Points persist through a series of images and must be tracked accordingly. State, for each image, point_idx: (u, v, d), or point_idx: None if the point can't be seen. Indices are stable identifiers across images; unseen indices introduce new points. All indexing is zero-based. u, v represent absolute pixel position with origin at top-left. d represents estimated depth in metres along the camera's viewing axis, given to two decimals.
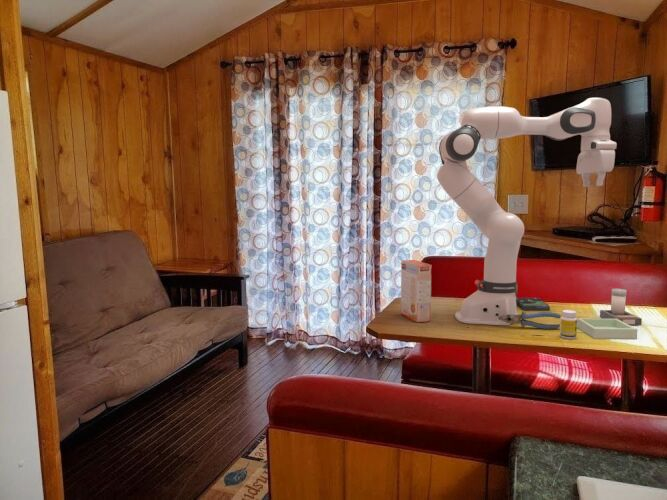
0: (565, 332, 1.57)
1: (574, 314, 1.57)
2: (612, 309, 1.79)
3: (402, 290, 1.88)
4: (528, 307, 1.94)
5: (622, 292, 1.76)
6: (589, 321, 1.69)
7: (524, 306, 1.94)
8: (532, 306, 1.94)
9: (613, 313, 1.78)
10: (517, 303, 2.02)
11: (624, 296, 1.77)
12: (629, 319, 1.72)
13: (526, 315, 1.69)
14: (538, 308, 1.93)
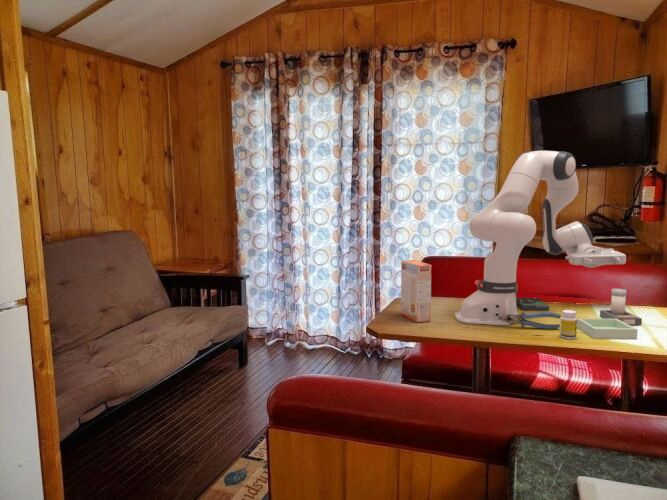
0: (565, 332, 1.57)
1: (574, 314, 1.57)
2: (612, 309, 1.79)
3: (402, 290, 1.88)
4: (527, 307, 1.94)
5: (622, 292, 1.76)
6: (589, 321, 1.69)
7: (523, 306, 1.94)
8: (531, 306, 1.94)
9: (613, 313, 1.78)
10: (517, 303, 2.02)
11: (624, 296, 1.77)
12: (629, 319, 1.72)
13: (526, 315, 1.69)
14: (537, 308, 1.93)
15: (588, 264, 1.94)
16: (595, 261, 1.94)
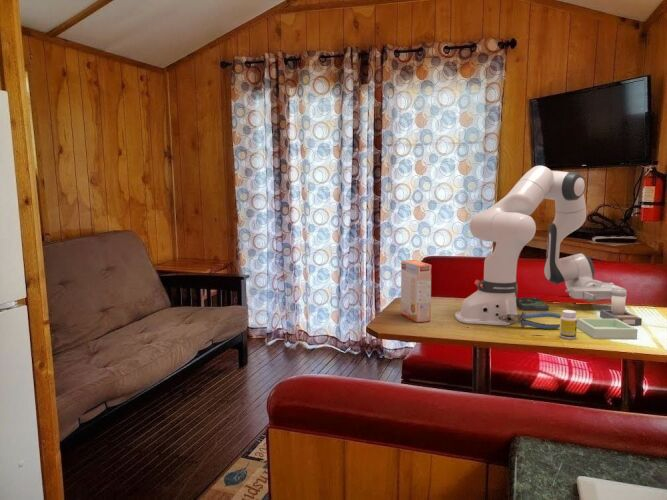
0: (565, 332, 1.57)
1: (574, 314, 1.57)
2: (612, 309, 1.79)
3: (402, 290, 1.88)
4: (526, 307, 1.94)
5: (622, 292, 1.76)
6: (589, 321, 1.69)
7: (523, 306, 1.94)
8: (531, 306, 1.94)
9: (613, 313, 1.78)
10: (516, 303, 2.02)
11: (624, 296, 1.77)
12: (629, 319, 1.72)
13: (526, 315, 1.69)
14: (536, 308, 1.94)
15: None
16: (596, 295, 1.93)
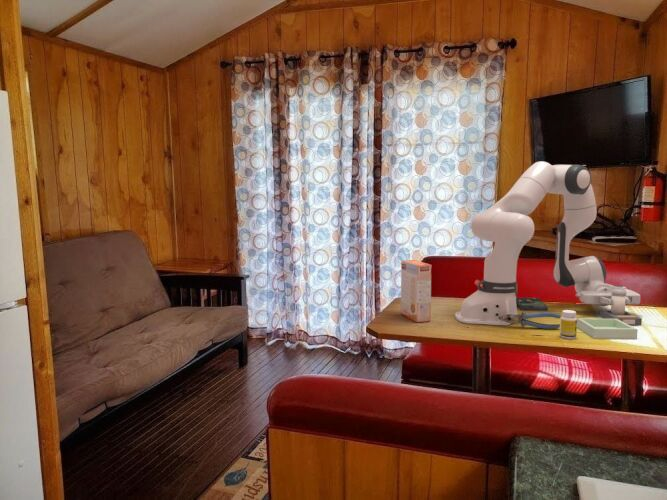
0: (565, 332, 1.57)
1: (574, 314, 1.57)
2: (612, 309, 1.79)
3: (402, 290, 1.88)
4: (525, 307, 1.94)
5: (622, 292, 1.76)
6: (589, 321, 1.69)
7: (522, 306, 1.94)
8: (530, 306, 1.94)
9: (613, 313, 1.78)
10: (516, 303, 2.02)
11: (624, 296, 1.77)
12: (629, 319, 1.72)
13: (526, 315, 1.69)
14: (536, 308, 1.94)
15: (600, 303, 1.83)
16: None
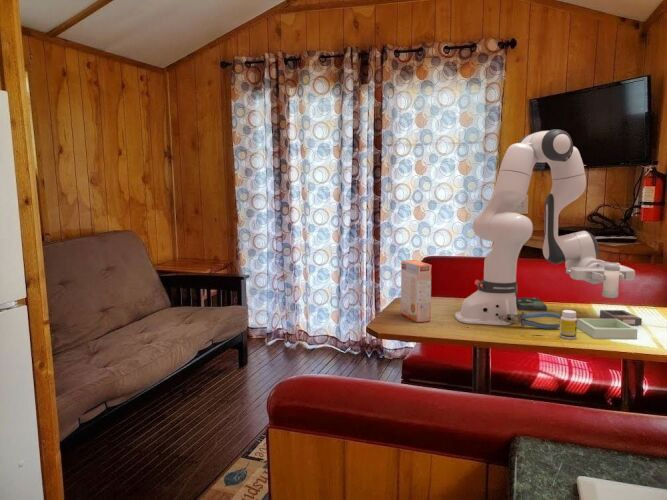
0: (565, 332, 1.57)
1: (574, 314, 1.57)
2: (605, 285, 1.66)
3: (402, 290, 1.88)
4: (524, 307, 1.94)
5: (615, 266, 1.63)
6: (589, 321, 1.69)
7: (521, 306, 1.94)
8: (529, 306, 1.94)
9: (606, 289, 1.66)
10: None
11: (618, 271, 1.64)
12: (629, 319, 1.72)
13: (526, 315, 1.69)
14: (535, 308, 1.94)
15: (592, 279, 1.70)
16: None
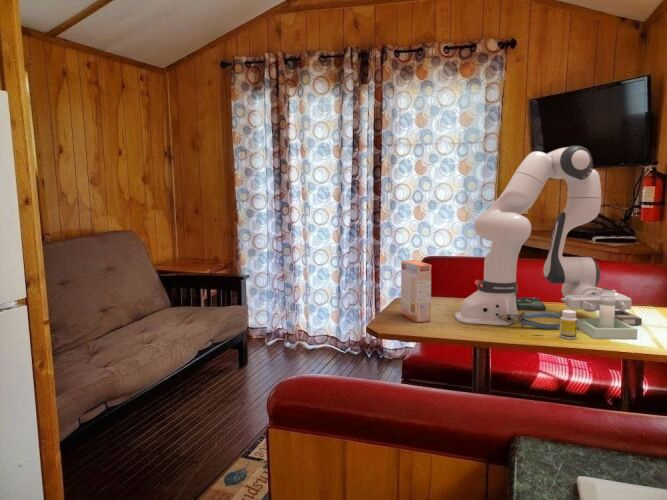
0: (565, 332, 1.57)
1: (574, 314, 1.57)
2: (600, 319, 1.63)
3: (402, 290, 1.88)
4: (523, 307, 1.94)
5: (611, 301, 1.60)
6: (589, 321, 1.69)
7: (519, 306, 1.95)
8: (528, 306, 1.94)
9: (601, 324, 1.62)
10: None
11: (613, 305, 1.60)
12: (629, 319, 1.72)
13: (526, 315, 1.69)
14: (534, 308, 1.94)
15: None
16: (596, 305, 1.67)
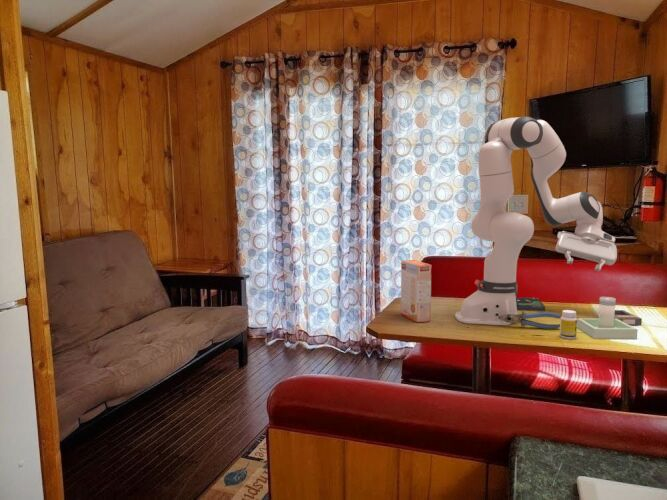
0: (565, 332, 1.57)
1: (574, 314, 1.57)
2: (600, 319, 1.63)
3: (402, 290, 1.88)
4: (522, 307, 1.95)
5: (611, 301, 1.60)
6: (589, 321, 1.69)
7: (519, 305, 1.95)
8: (527, 306, 1.94)
9: (601, 324, 1.62)
10: None
11: (613, 305, 1.60)
12: (629, 319, 1.72)
13: (526, 315, 1.69)
14: (533, 308, 1.94)
15: (571, 255, 1.83)
16: (580, 254, 1.82)
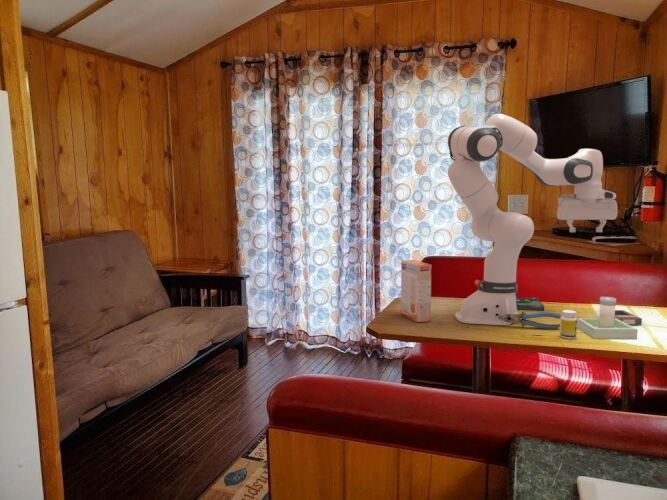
0: (565, 332, 1.57)
1: (574, 314, 1.57)
2: (600, 319, 1.62)
3: (402, 290, 1.88)
4: (521, 307, 1.95)
5: (611, 301, 1.60)
6: (589, 321, 1.69)
7: (518, 305, 1.95)
8: (526, 306, 1.94)
9: (601, 324, 1.62)
10: None
11: (613, 305, 1.60)
12: (629, 319, 1.72)
13: (526, 315, 1.69)
14: (532, 308, 1.94)
15: None
16: None
